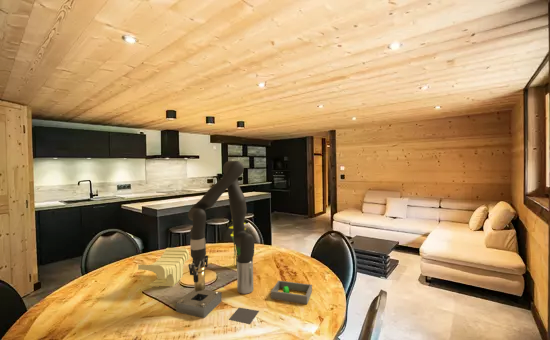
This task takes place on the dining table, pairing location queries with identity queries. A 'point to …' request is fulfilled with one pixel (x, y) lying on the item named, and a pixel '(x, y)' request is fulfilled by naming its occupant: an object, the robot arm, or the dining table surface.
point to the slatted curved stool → (168, 267)
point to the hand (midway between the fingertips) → (199, 279)
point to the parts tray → (290, 296)
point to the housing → (199, 303)
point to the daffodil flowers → (236, 247)
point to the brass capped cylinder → (200, 279)
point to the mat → (244, 315)
